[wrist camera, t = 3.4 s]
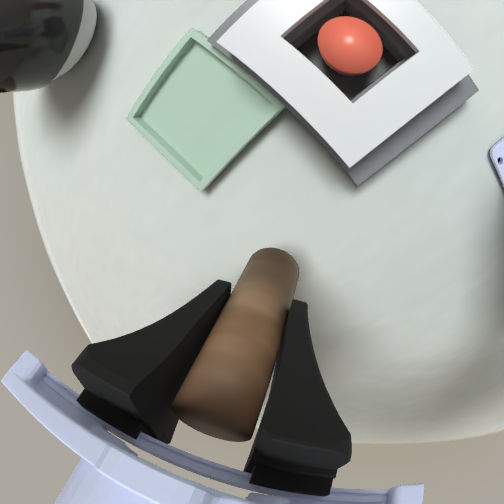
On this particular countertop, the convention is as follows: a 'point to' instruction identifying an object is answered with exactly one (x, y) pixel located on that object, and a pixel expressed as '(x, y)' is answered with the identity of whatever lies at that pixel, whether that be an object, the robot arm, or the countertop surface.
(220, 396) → the brown wooden cylinder
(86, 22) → the pump dispenser
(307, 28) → the box
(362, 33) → the button
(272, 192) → the countertop surface
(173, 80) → the rest tray
